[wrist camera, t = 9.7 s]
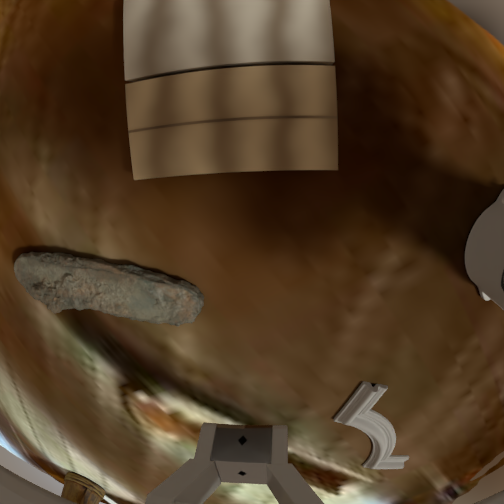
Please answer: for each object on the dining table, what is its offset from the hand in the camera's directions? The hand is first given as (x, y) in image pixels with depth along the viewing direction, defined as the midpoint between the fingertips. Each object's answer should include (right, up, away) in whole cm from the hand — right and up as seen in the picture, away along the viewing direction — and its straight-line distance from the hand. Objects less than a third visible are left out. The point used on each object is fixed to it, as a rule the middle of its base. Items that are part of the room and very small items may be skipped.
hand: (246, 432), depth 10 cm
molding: (+30, -33, +47) cm, 65 cm away
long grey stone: (-24, +2, +36) cm, 43 cm away
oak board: (-2, +22, +25) cm, 33 cm away
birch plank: (-3, +33, +20) cm, 39 cm away
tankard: (-66, -86, +77) cm, 133 cm away
